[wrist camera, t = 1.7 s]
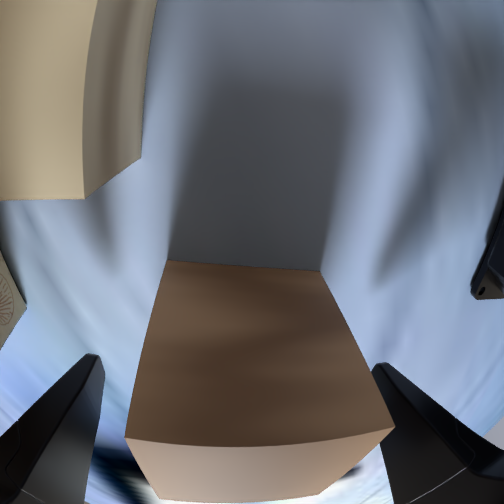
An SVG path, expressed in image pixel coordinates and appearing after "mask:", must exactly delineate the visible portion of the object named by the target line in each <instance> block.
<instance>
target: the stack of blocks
mask: <svg viewBox="0 0 504 504" xmlns="http://www.w3.org/2000/svg"><path fill="white" fill-rule="evenodd" d="M26 309H27V307H26V305H25V303H24V301H23V299H22V297H21V295H20V293H19V291H18V289H17V287H16V284H15V282H14V280H13V278H12V276H11V274H10V272H9V270H8V267H7V265H6V263H5V261H4V258H3V256H2V254H1V251H0V350H1V348H2V347H3V345H4V343H5V341H6V340H7V338H8V337H9V335H10V334H11V332H12V330H13V329H14V327H15V325H16V324H17V322H18V321H19V320H20V318H21V317H22V315H23V314H24V312H25V311H26Z"/></svg>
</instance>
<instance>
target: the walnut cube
mask: <svg viewBox="0 0 504 504" xmlns="http://www.w3.org/2000/svg"><path fill="white" fill-rule="evenodd" d="M394 428H395V424H394V422H393V420H392V418H391V415H390V413H389V411H388V409H387V406H386V404H385V402H384V400H383V397H382V395H381V393H380V391H379V389H378V387H377V384H376V382H375V380H374V378H373V376H372V374H371V372H370V369H369V367H368V365H367V363H366V361H365V359H364V357H363V355H362V353H361V351H360V349H359V347H358V345H357V343H356V341H355V339H354V336H353V334H352V332H351V330H350V328H349V326H348V325H347V323H346V321H345V319H344V317H343V315H342V313H341V311H340V309H339V307H338V305H337V303H336V301H335V299H334V297H333V295H332V293H331V291H330V290H329V288H328V286H327V284H326V282H325V280H324V278H323V276H322V275H321V273H320V271H308V270H293V269H278V268H264V267H250V266H237V265H223V264H210V263H198V262H185V261H173V260H167V261H166V264H165V268H164V271H163V274H162V278H161V281H160V284H159V288H158V291H157V295H156V298H155V302H154V306H153V309H152V313H151V317H150V321H149V324H148V328H147V332H146V336H145V340H144V344H143V348H142V352H141V357H140V361H139V365H138V370H137V374H136V379H135V384H134V388H133V393H132V398H131V403H130V408H129V414H128V419H127V425H126V431H125V436H124V438H125V440H126V442H127V444H128V446H129V448H130V450H131V452H132V453H133V455H134V457H135V459H136V461H137V463H138V465H139V466H140V468H141V470H142V472H143V473H144V475H145V477H146V478H147V480H148V482H149V483H150V485H151V487H152V488H153V490H154V491H155V493H156V495H157V496H158V498H159V499H165V500H174V501H186V502H203V503H245V502H263V501H275V500H284V499H293V498H300V497H307V496H313V495H318V494H320V493H321V492H322V491H324V490H325V489H326V488H328V487H329V486H330V485H331V484H333V483H334V482H335V481H337V480H338V479H339V478H340V477H342V476H343V475H344V474H345V473H346V472H348V471H349V470H350V469H351V468H352V467H354V466H355V465H356V464H357V463H358V462H359V461H360V460H362V459H363V458H364V457H365V456H366V455H367V454H368V453H369V452H370V451H371V450H372V449H373V448H375V447H376V446H377V445H378V444H379V443H380V442H381V441H382V440H383V439H384V438H385V437H386V436H387V435H388V434H389V433H390V432H391V431H392V430H393V429H394Z"/></svg>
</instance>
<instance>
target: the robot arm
mask: <svg viewBox="0 0 504 504" xmlns="http://www.w3.org/2000/svg"><path fill="white" fill-rule="evenodd" d="M471 295H472V296H473V297H474V298H475V299H477V300H484V299H502V298H504V208H503V211H502V214H501V217H500V220H499V223H498V226H497V229H496V231H495V234H494V237H493V239H492V242H491V245H490V247H489V250H488V252H487V254H486V257H485V259H484V262H483V264H482V266H481V268H480V271H479V273H478V275H477V277H476V279H475V281H474V283H473V286H472V288H471ZM371 374H372V376H373V378H374V380H375V382H376V384H377V387H378V389H379V391H380V393H381V395H382V397H383V400H384V402H385V404H386V406H387V409H388V411H389V413H390V415H391V418H392V420H393V422H394V424H395V428H394V429H393V430H392V431H391V432H390V433H389V434H388V435H387V436H386V437H385V438H384V439H383V440H382V441H381V442H380V447H381V451H382V455H383V459H384V463H385V467H386V471H387V475H388V479H389V483H390V487H391V492H392V496H393V501H394V504H504V450H502V449H500V448H498V447H496V446H495V445H493V444H492V443H490V442H489V441H487V440H486V439H484V438H483V437H481V436H479V435H478V434H477V433H475V432H474V431H472V430H471V429H470V428H468V427H467V426H466V425H464V424H463V423H462V422H461V421H459V420H458V419H457V418H455V417H454V416H453V415H452V414H451V413H449V412H448V411H447V410H446V409H444V408H443V407H442V406H441V405H439V404H438V403H437V402H436V401H434V400H433V399H432V398H431V397H430V396H428V395H427V394H426V393H425V392H423V391H422V390H421V389H420V388H418V387H417V386H416V385H415V384H413V383H412V382H411V381H410V380H408V379H407V378H406V377H405V376H404V375H402V374H401V373H400V372H399V371H397V370H396V369H395V368H394V367H392V366H391V365H390V364H389V363H386V362H383V363H377V364H376V365H375V366H374V368H373V369H372V371H371ZM104 382H105V371H104V368H103V365H102V361H101V358H100V356H99V355H96V354H90V353H88V354H86V355H84V356H83V357H82V358H81V359H80V360H79V361H78V362H77V363H76V364H75V365H74V366H73V367H71V368H70V369H69V370H68V371H67V372H66V373H65V374H64V375H63V376H62V377H61V378H60V379H59V380H58V381H57V382H56V383H55V384H54V385H53V386H52V387H50V388H49V389H48V390H47V391H46V392H45V393H44V394H43V395H42V396H41V397H40V398H39V399H38V400H37V401H36V402H35V403H34V404H33V405H32V406H31V407H30V408H29V409H28V410H27V411H26V412H25V413H24V414H23V415H22V416H21V417H20V418H19V419H18V421H16V422H15V423H14V424H13V425H12V426H11V427H10V428H9V429H8V430H7V431H6V432H5V433H4V434H3V435H2V436H1V437H0V504H84V499H85V492H86V485H87V479H88V473H89V468H90V462H91V457H92V452H93V447H94V442H95V438H96V433H97V429H98V424H99V419H100V412H101V404H102V396H103V388H104Z"/></svg>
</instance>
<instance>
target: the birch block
mask: <svg viewBox="0 0 504 504" xmlns="http://www.w3.org/2000/svg"><path fill="white" fill-rule="evenodd" d="M156 5H157V0H0V201H5V200H43V199H86V198H87V197H88V196H89V195H91V194H92V193H93V192H95V191H96V190H97V189H98V188H100V187H101V186H102V185H104V184H105V183H106V182H108V181H109V180H110V179H112V178H113V177H114V176H116V175H117V174H119V173H120V172H121V171H123V170H124V169H126V168H127V167H128V166H130V165H131V164H133V163H134V162H136V161H137V160H139V159H140V158H141V137H142V117H143V102H144V90H145V80H146V70H147V62H148V54H149V46H150V39H151V33H152V27H153V21H154V15H155V10H156Z"/></svg>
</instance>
